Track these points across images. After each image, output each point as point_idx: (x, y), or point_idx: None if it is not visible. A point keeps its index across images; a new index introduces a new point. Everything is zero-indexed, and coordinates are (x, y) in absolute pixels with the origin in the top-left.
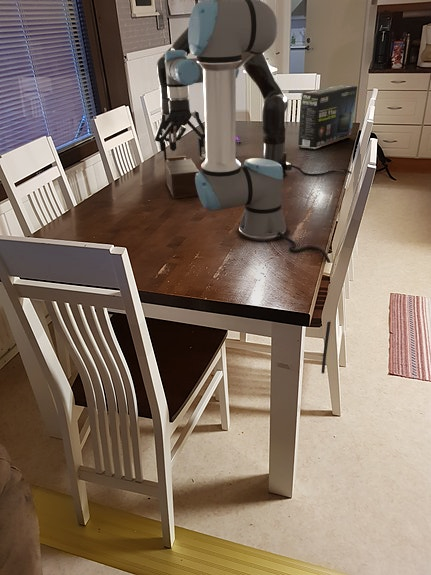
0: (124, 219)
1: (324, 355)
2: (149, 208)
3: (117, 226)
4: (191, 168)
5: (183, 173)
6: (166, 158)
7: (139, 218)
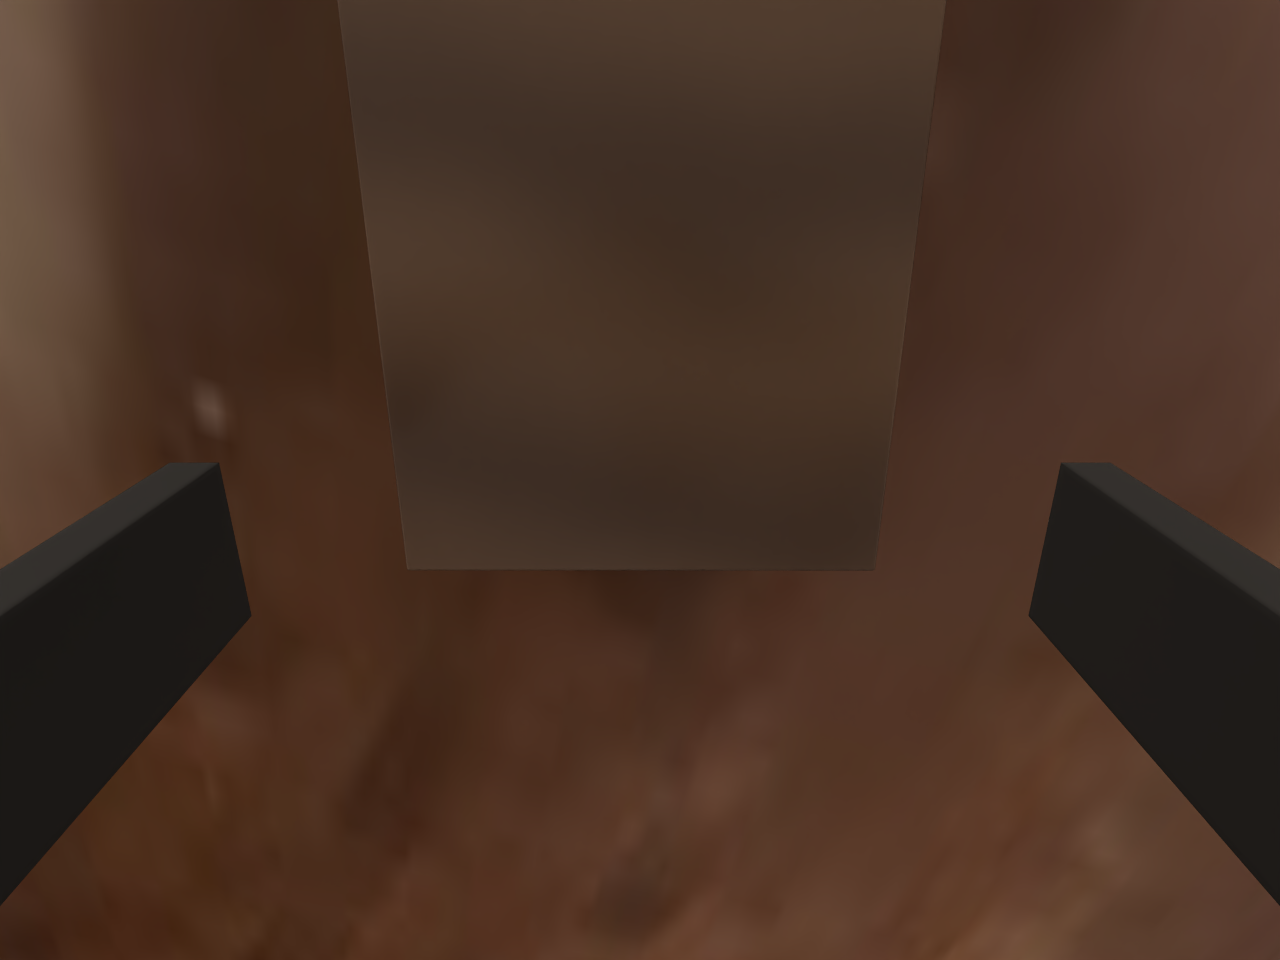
0: None
1: None
2: None
3: None
4: (796, 368)
5: (610, 565)
6: (228, 638)
7: (169, 796)
